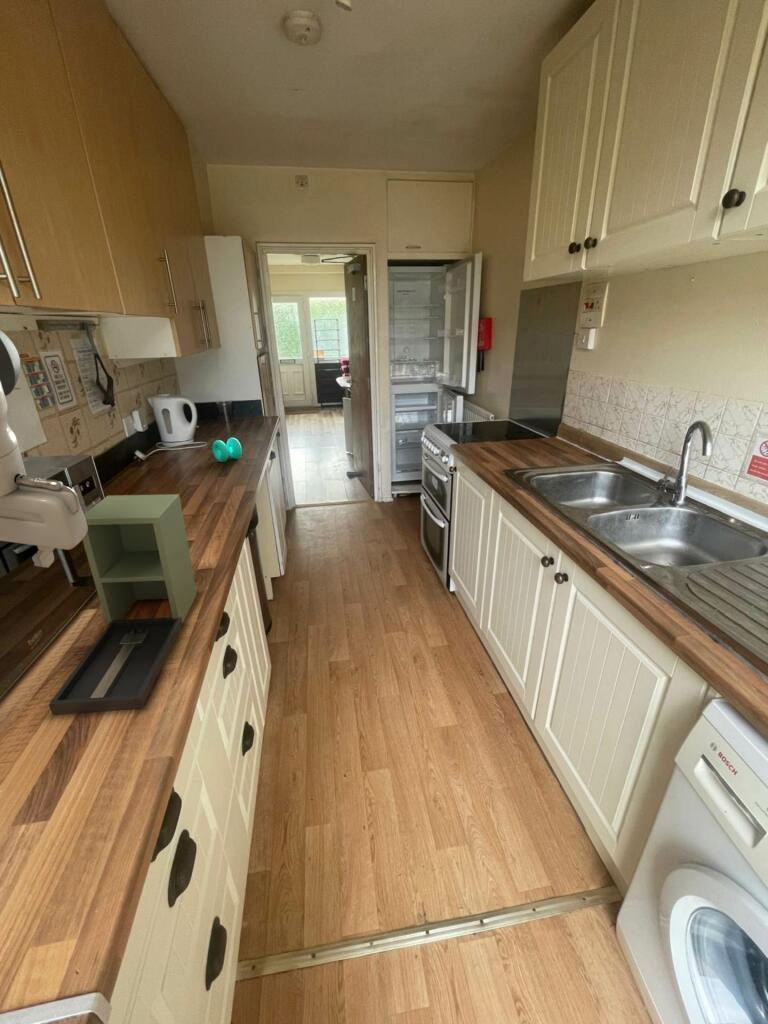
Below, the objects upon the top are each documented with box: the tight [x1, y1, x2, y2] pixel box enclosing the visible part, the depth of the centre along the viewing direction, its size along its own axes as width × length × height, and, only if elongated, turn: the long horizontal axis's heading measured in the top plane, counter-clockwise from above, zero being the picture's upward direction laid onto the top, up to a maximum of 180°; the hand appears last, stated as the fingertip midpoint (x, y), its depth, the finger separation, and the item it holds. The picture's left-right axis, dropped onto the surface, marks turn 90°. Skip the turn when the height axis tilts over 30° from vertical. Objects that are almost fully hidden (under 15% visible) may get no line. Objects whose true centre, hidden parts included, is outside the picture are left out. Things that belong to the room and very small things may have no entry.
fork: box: [90, 628, 151, 698], centre depth 77 cm, size 18×4×1 cm, turn 7°
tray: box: [48, 616, 184, 716], centre depth 78 cm, size 14×21×2 cm, turn 7°
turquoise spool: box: [212, 437, 243, 463], centre depth 196 cm, size 10×10×10 cm
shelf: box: [81, 493, 198, 626], centre depth 88 cm, size 14×12×25 cm
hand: (4, 558), depth 56 cm, fingers open, 8 cm apart
